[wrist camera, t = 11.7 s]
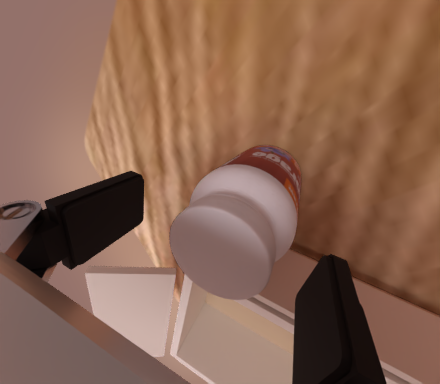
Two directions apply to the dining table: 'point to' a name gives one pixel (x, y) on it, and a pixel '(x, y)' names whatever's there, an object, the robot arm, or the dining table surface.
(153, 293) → the end flap
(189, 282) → the carton
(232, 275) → the pill bottle
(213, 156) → the dining table surface
